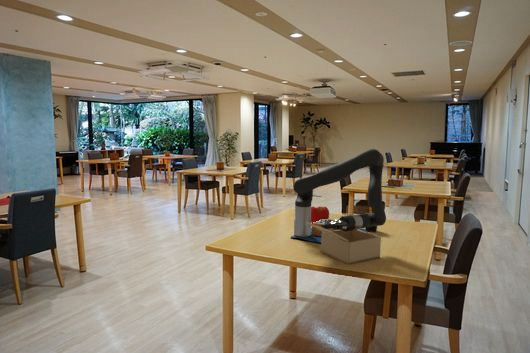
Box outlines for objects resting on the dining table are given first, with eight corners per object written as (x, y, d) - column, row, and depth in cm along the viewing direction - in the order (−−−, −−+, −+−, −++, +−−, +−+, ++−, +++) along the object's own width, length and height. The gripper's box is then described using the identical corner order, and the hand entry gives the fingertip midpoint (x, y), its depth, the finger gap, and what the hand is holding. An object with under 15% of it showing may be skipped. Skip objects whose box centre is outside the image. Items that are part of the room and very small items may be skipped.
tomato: (311, 227, 245) (312, 208, 243) (305, 221, 259) (306, 204, 257) (332, 226, 247) (332, 208, 245) (325, 221, 261) (325, 204, 259)
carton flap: (323, 231, 194) (306, 221, 188) (348, 240, 178) (331, 230, 172) (322, 232, 194) (305, 222, 188) (348, 241, 178) (330, 232, 172)
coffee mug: (378, 232, 233) (379, 216, 231) (364, 232, 234) (364, 215, 233) (377, 228, 244) (378, 212, 243) (363, 227, 246) (363, 211, 244)
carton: (351, 246, 206) (352, 227, 205) (381, 257, 188) (382, 237, 187) (320, 251, 196) (320, 232, 195) (348, 264, 178) (349, 243, 177)
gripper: (342, 212, 195) (314, 216, 186) (360, 217, 184) (332, 221, 175) (341, 227, 196) (313, 231, 187) (360, 233, 184) (331, 238, 176)
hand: (322, 226), depth 181 cm, fingers closed
